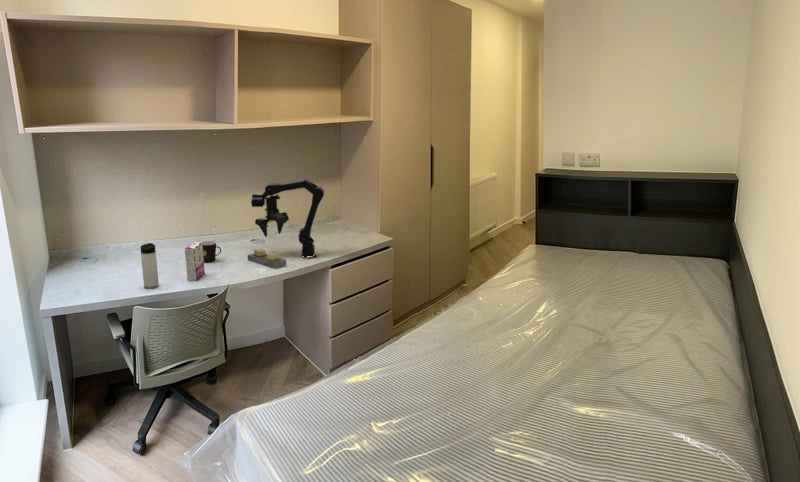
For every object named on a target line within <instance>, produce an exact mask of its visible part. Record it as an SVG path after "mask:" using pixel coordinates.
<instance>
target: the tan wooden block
mask: <svg viewBox="0 0 800 482" xmlns="http://www.w3.org/2000/svg"><path fill="white" fill-rule="evenodd" d="M266 254H267V260H268V261H272V262H274V261H277V260H279V258H280V254H279V253H277V252H272V253H266Z"/></svg>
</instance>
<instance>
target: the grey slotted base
mask: <svg viewBox="0 0 800 482" xmlns="http://www.w3.org/2000/svg"><path fill="white" fill-rule="evenodd" d="M267 254H268V253H266V256H263V257H256V256H254V252H253V253H250V254H247V261H249V262H252V263H255V264H258V265H260V266H263V267H267V268H269V269H273V268H274V270H276V269H279V268H278V267H280V268H282V267H281V266H283V267H286V266H287V259H284V258H281V257H279V260H277V261H274V262H272V261H268V260H267ZM285 265H286V266H285ZM275 268H276V269H275Z"/></svg>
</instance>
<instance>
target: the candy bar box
mask: <svg viewBox="0 0 800 482" xmlns="http://www.w3.org/2000/svg"><path fill="white" fill-rule="evenodd" d="M202 242H203V241H192V242H191V243H190V244H189V245H186V246H185V248H184V254H185V265H186V275H187V276H186V277H187V281H189V282H193V281H195V282H196V281H199V279H201V278H202V277H203V276H204V275H205V273H206V271H205V270H206V269H205V263H204V258H203V246H202Z"/></svg>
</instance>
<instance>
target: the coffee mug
mask: <svg viewBox="0 0 800 482" xmlns="http://www.w3.org/2000/svg"><path fill="white" fill-rule="evenodd" d="M201 242H202V246H203V258H204V264H211V263H215V262H216V257H217V256H219V255H220V254H221V253H222V248H221V247H220V246H217V241H215V240H203V241H201ZM217 248H218V249H219V252H218V253H217ZM216 253H217V254H216Z"/></svg>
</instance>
